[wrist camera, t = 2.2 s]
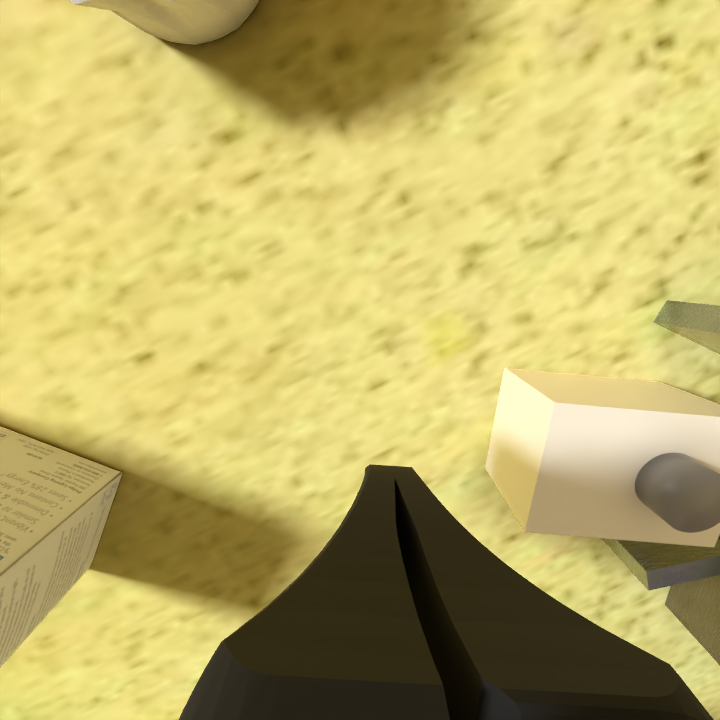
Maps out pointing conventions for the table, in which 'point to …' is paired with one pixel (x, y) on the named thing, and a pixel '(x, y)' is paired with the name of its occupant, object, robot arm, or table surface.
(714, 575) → the motor bracket
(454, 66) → the table surface
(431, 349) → the table surface
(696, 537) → the block
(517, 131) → the table surface
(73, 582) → the light bulb box
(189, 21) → the cupcake
